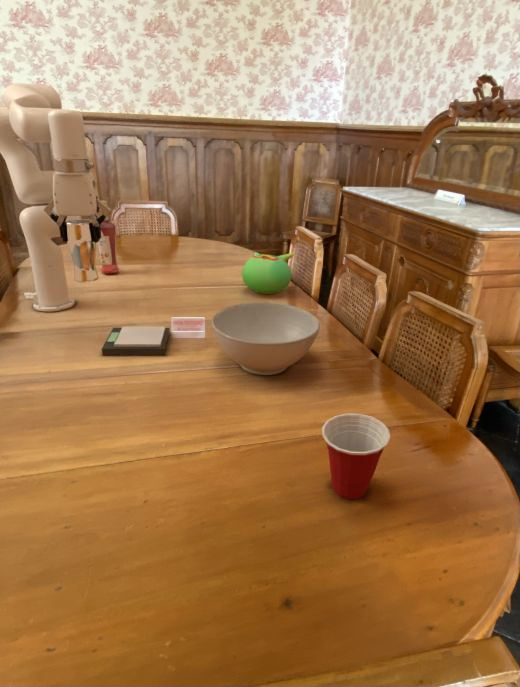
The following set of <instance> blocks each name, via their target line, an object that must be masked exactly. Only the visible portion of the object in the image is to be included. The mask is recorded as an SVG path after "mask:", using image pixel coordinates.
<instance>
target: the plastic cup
mask: <svg viewBox="0 0 520 687" xmlns="http://www.w3.org/2000/svg"><path fill="white" fill-rule="evenodd" d="M321 433H322V434H321V436H322V438H323V440H324V441H325V443H326V446H327V450H328V461H329V471H330V474H331V475H330V476H331V486H332V489H333V490H334V493H336V494H337V495H338V496H339V497H342V498H344V499H346V500H358V499H361V498H362V497H364V496H365V494H366V493H367V491H368V488H369V486H370V483H371V481H372V479H373V477H374V474H375V471H376V470H377V466H378V464H379V461H380V458H381V456H382V454H383V452H384V449H385V448H386V447H387V445H388V443H389V442H390V439H391V433H390V430H389V428H388V427H387V426H386V425H385V423H383V421H381V420H380V419H377V418H375V417H374V416H371V415H367V414H363V413H351V412H350V413H348V412H347V413H342V414H338V415H335V416H333V417H331V418H329V419H327V420H326V421H325V423H324V424H323V425H322V427H321Z"/></svg>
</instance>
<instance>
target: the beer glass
mask: <svg viewBox="0 0 520 687" xmlns="http://www.w3.org/2000/svg"><path fill="white" fill-rule="evenodd" d="M65 223H66V237H67V241H66V243H67V247H68V250H69V251H68V252H69V253H70V257H71V259H72V260H71V261H72V262H73V263H72V264H73V268H74V270H73V271H74V272H73V273H74V274H73V280H74V281H75V282H78V283H91V282H95V281H98V279H99V278H100V277H99V274H98V270H97V266H96V254H97V243H96V242H94V239H93V230H92V227H93V226H94V225H93V222H92V221H91V219H89V218H86V219H85V218H81V219H74V220H68V221H66V222H65Z"/></svg>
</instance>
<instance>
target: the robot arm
mask: <svg viewBox="0 0 520 687" xmlns="http://www.w3.org/2000/svg"><path fill="white" fill-rule="evenodd" d="M2 101H3V104H4V106H0V155H1V156H2V158H3V159H4V161H5V164H6V166H7V170H8V173H9V177H10V179H11V182H12V186H13V188H14V191H15V194H16V197H17V199H18V200H19V201H20V202H21V203H23V204H25V205H34V206H29V207H25V208H24V209H23V210H22V211H21V212H20V213H19V224H20V228H21V230H22V233H23V235H24V239H25V243H26V245H27V251H28V254H29V255H28V256H29V260H30V266H31V272H32V277H33V278H32V279H33V283H34V284H33V285H34V289H35V291H34V292H24V293H23V298H24V299H25V301H33V303H32V306H33V309H34V310H36V311H39V312H44V313H45V312H47V313H49V312H50V313H51V312H58V311H65V310H69V309H70V308H71V307H73V306H74V305H75V304H76V302H75V299H74V298H73V297H71V296H70V295H69V289H68V288H69V287H68V282H67V276H66V268H65V262H64V255H63V251H62V249H61V248H60V246H59V245H57V244H56V242H54V241H53V240H52V239H53V238H57V237H58V238H61V239H62V242H63V243H67V237H66V223H65V222H66V221H68V220H74V219H82V217H88V219H89V220H91V221H92V222H93V225H94V226H93V227H92V230H93V239H94V242H96V244H98V241H99V240H100V239H101V229H100V224H101V223H102V222H103V221H104V220H105V219H106V217H107V216H108V217H109V215H110V214H111V213H112V209H111V207H109V206H108V205H107V206H106V205H105V204H104V203H102V202H101V201H102V200H100V196H99V191H98V186H97V183H96V178H95V176H94V173H93V172H91V170H92V169H95V166H96V165H95V162H91V161H90V160H89V159H88V150H87V141H86V134H85V125H84V124H85V122H84V118H83V117H84V116H83V115H82V113H81V112H80V111H78V110H74V109H65V108H63V105H62V104H63V103H62V99H61V97H60V94H59V93H58V91H57V90H56V89H55V88H54V87H52V86H50V85H46V84H34V83H19V82H17V83H11V84H9V85H8V86H6V87H5V88H4V89H3V92H2ZM20 140H22V141H24V142H26V143H34V144H35V143H38V144H39V143H45V144H46V143H50V144H51V148H52V154H53V159H54V162H53V163H54V168H55V169H54V170H41V169H40V167H39V164H38V161H37V158H36V155H35V154H34V153H33V152H32V151H31V150H30V148H28V147H27V146H25V144H23V143H22V142H20ZM42 204H43V205H42ZM44 204H46V205H44ZM101 210H103V213H102V215H101V214H100V216H99V215H98V214H99V213H101Z"/></svg>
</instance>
